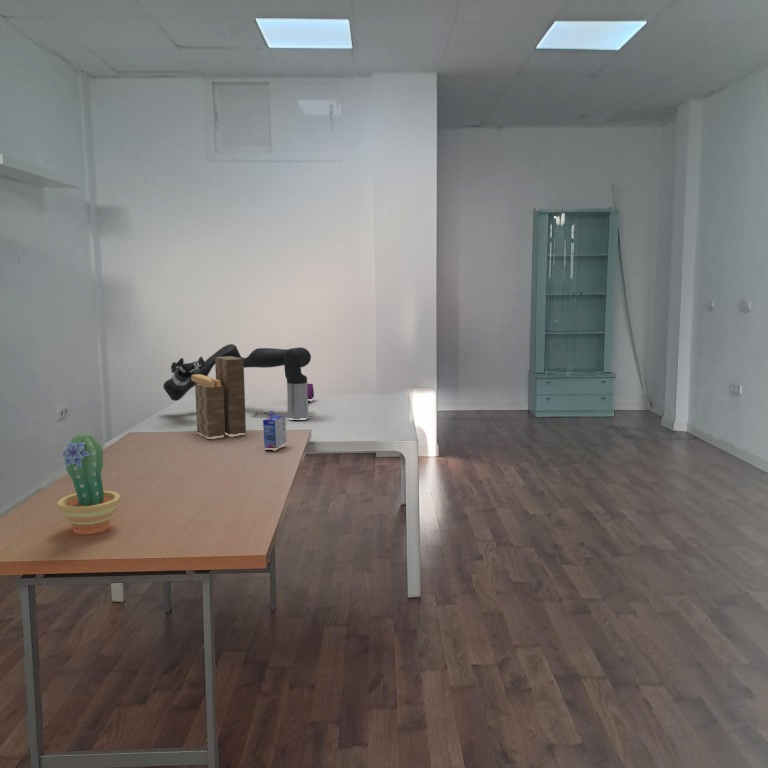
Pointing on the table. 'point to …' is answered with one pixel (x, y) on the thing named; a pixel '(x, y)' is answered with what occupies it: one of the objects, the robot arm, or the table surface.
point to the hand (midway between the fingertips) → (192, 359)
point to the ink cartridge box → (274, 430)
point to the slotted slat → (206, 380)
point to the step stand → (222, 400)
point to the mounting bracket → (310, 391)
